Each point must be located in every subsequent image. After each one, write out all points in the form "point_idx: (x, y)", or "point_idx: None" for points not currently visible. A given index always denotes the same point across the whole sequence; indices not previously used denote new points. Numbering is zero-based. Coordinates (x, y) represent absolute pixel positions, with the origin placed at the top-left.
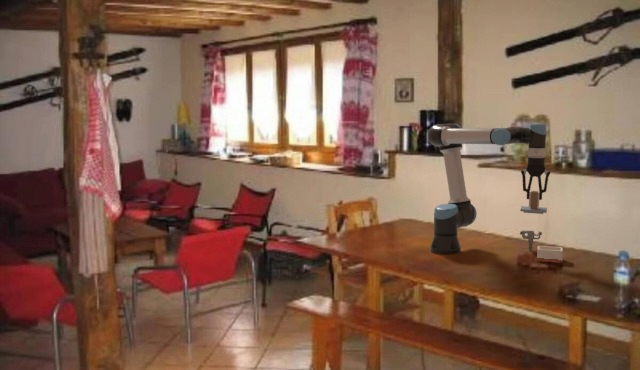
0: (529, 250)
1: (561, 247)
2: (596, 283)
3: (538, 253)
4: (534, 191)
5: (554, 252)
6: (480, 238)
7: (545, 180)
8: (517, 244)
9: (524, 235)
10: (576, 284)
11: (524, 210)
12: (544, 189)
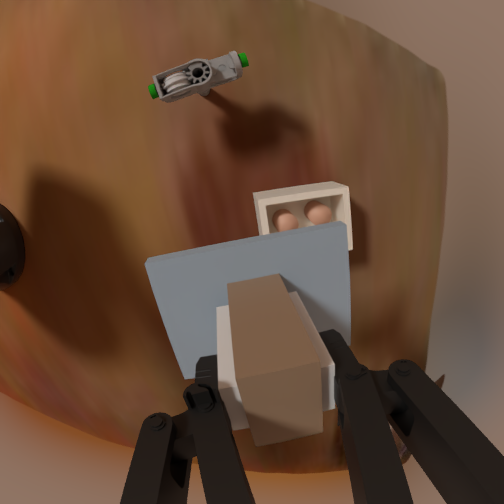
0: (201, 95)
1: (345, 190)
2: None
3: None
4: (279, 398)
5: None
6: (24, 22)
7: (447, 496)
8: (140, 21)
9: (172, 96)
10: None
11: None
12: (397, 421)
